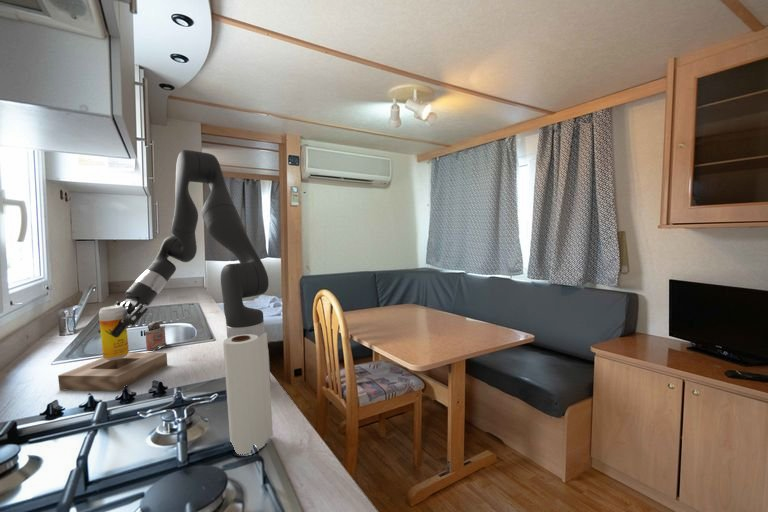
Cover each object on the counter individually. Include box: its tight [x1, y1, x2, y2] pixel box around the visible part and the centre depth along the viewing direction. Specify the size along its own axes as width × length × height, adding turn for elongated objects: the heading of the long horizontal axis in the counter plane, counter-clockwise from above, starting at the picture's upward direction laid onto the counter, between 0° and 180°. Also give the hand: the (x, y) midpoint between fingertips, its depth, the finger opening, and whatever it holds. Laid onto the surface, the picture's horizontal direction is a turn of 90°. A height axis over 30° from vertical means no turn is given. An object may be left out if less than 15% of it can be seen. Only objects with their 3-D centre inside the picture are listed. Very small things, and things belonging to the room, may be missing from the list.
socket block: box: [57, 352, 168, 392], centre depth 104 cm, size 18×18×4 cm
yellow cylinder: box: [98, 305, 130, 360], centre depth 103 cm, size 6×6×15 cm
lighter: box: [144, 319, 167, 352], centre depth 129 cm, size 8×3×10 cm, turn 171°
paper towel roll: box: [222, 332, 274, 455], centre depth 66 cm, size 7×6×21 cm
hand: (107, 334), depth 102 cm, fingers closed on yellow cylinder, 6 cm apart
